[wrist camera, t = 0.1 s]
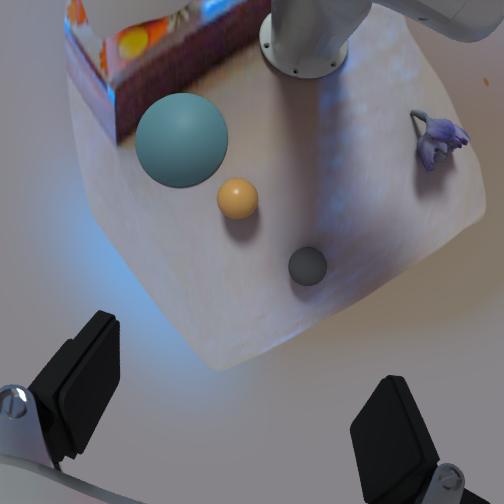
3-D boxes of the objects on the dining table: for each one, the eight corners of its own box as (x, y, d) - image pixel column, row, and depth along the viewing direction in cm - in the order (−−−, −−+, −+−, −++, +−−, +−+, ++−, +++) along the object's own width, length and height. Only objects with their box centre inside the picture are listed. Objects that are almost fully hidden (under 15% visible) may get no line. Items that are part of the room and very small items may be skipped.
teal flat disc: (147, 87, 39) (146, 87, 39) (238, 103, 40) (238, 102, 39) (128, 176, 44) (128, 176, 44) (215, 196, 44) (214, 196, 44)
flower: (401, 114, 33) (465, 160, 30) (424, 85, 34) (480, 125, 31) (386, 153, 42) (439, 192, 39) (408, 122, 43) (457, 158, 40)
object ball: (225, 172, 43) (219, 176, 38) (263, 181, 43) (262, 187, 38) (216, 208, 45) (209, 218, 40) (253, 218, 45) (251, 228, 40)
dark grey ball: (293, 238, 46) (296, 251, 41) (328, 247, 46) (335, 261, 41) (282, 271, 48) (284, 287, 43) (316, 279, 48) (322, 296, 43)
